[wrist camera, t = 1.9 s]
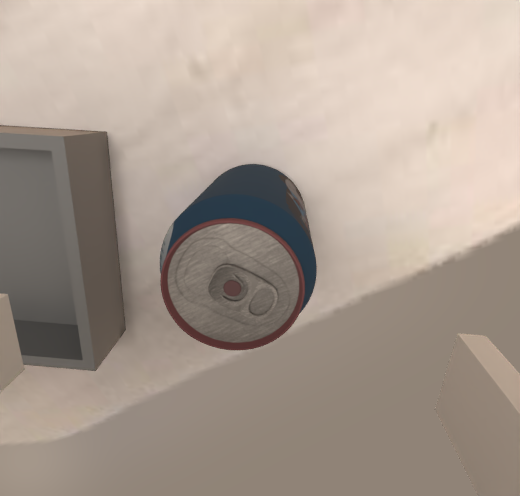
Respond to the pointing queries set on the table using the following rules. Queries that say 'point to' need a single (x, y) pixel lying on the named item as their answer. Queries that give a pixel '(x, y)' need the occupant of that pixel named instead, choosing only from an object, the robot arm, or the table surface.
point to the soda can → (239, 260)
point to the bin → (59, 245)
